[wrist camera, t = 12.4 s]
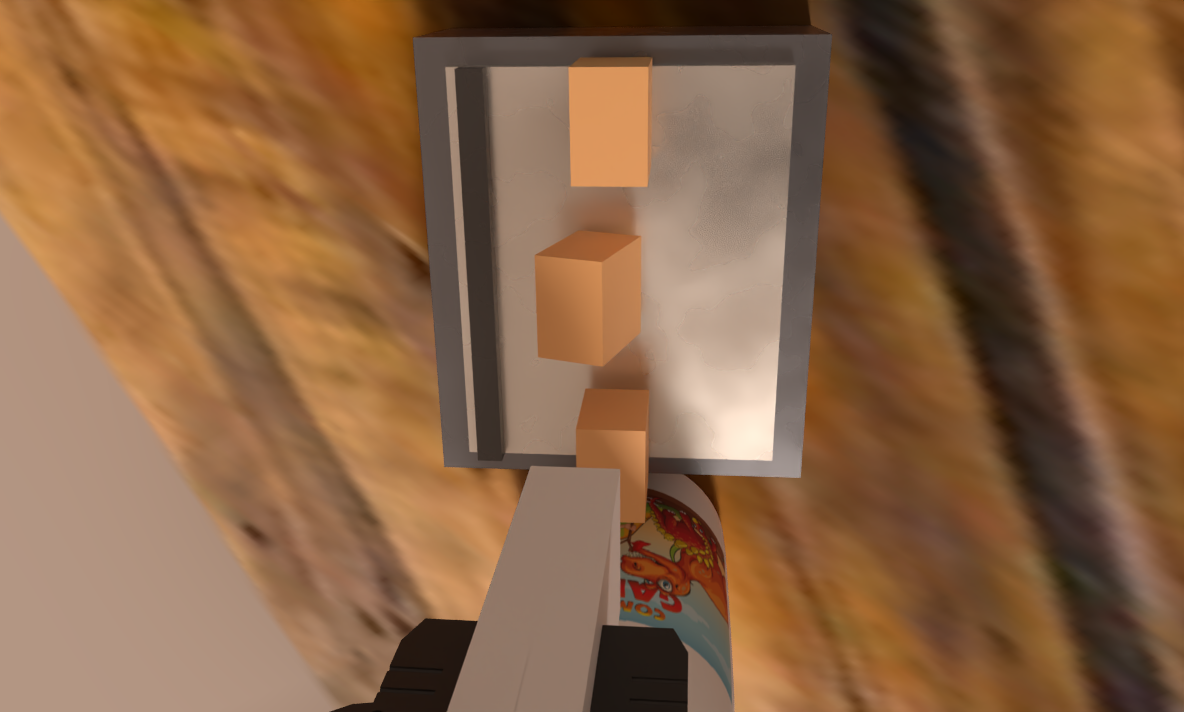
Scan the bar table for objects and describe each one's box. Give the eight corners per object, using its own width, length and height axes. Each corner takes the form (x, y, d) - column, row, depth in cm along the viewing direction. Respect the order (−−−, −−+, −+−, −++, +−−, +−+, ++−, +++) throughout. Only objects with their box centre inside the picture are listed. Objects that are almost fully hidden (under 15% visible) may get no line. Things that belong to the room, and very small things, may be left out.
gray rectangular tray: (810, 25, 33) (837, 36, 27) (786, 414, 38) (803, 492, 32) (450, 28, 34) (403, 39, 28) (473, 407, 39) (437, 480, 33)
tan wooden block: (649, 390, 31) (645, 431, 28) (648, 475, 32) (645, 523, 29) (585, 388, 31) (575, 429, 28) (586, 473, 32) (577, 520, 30)
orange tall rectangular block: (652, 57, 28) (648, 66, 25) (651, 165, 29) (647, 186, 26) (580, 57, 28) (568, 67, 25) (581, 165, 29) (570, 186, 26)
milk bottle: (756, 573, 40) (818, 1090, 22) (591, 641, 42) (516, 1169, 24) (668, 418, 38) (651, 844, 20) (497, 497, 40) (335, 953, 21)
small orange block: (641, 235, 29) (601, 262, 26) (640, 332, 30) (602, 366, 28) (578, 230, 30) (534, 255, 27) (580, 324, 31) (538, 357, 28)
